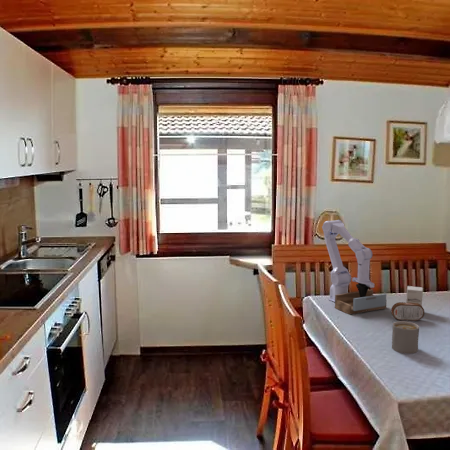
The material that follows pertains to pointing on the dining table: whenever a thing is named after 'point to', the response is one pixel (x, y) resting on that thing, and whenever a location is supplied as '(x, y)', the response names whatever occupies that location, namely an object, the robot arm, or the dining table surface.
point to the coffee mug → (405, 337)
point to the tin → (407, 311)
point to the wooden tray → (346, 302)
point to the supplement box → (414, 295)
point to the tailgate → (369, 302)
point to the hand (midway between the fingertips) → (362, 298)
